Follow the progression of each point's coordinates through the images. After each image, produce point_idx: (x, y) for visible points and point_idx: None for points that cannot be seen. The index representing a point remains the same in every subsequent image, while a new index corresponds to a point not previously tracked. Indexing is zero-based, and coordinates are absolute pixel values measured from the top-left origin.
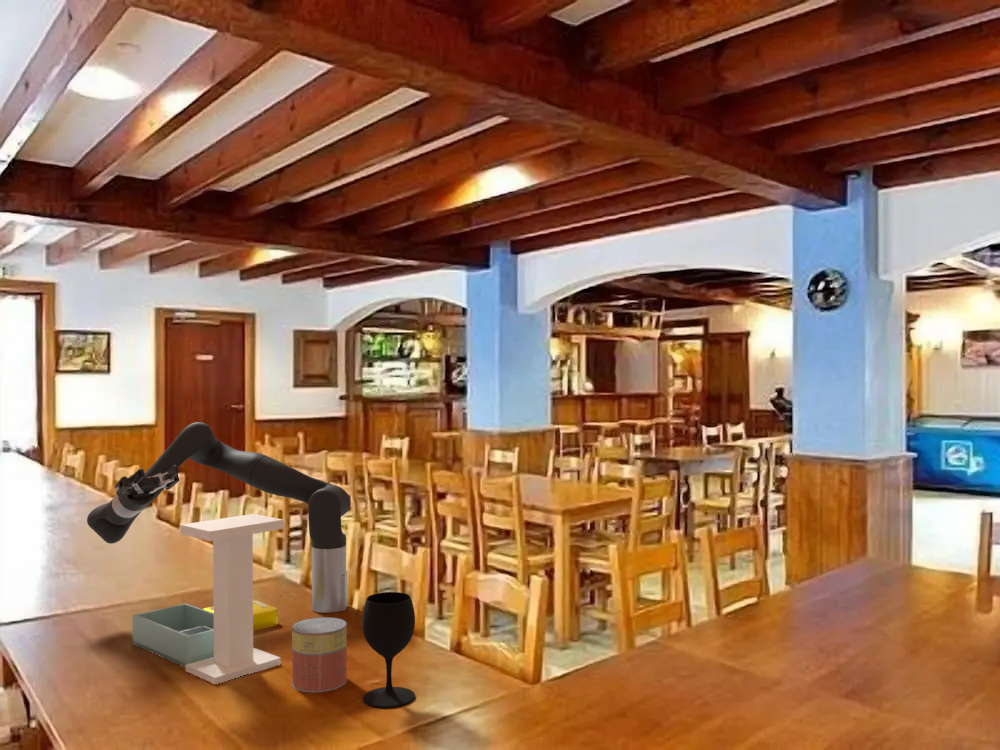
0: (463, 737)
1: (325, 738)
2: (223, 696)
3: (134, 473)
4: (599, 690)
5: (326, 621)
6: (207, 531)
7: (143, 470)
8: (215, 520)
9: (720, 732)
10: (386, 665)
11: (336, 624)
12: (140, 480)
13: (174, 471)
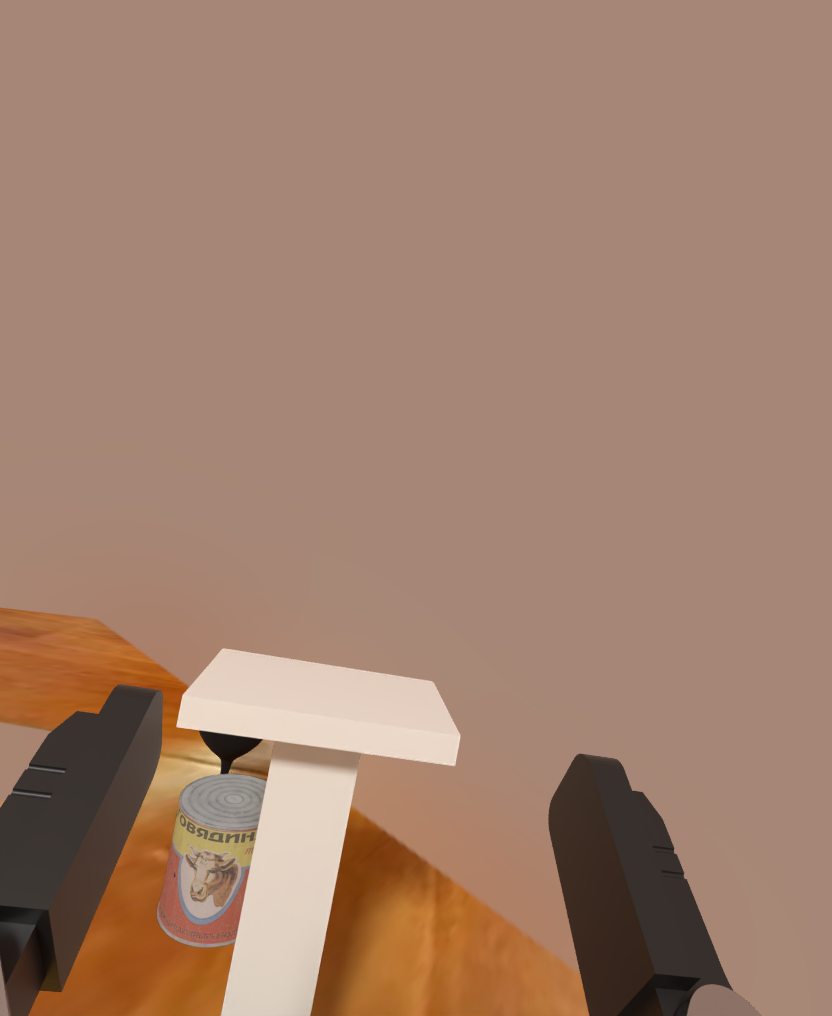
0: (264, 749)
1: (354, 814)
2: (372, 986)
3: (678, 864)
4: (83, 709)
5: (207, 800)
6: (434, 685)
7: (571, 766)
8: (346, 712)
9: (149, 669)
10: (229, 769)
11: (214, 785)
12: (579, 948)
13: (149, 761)
